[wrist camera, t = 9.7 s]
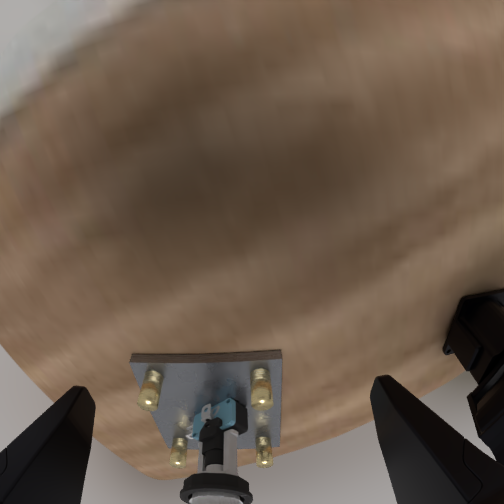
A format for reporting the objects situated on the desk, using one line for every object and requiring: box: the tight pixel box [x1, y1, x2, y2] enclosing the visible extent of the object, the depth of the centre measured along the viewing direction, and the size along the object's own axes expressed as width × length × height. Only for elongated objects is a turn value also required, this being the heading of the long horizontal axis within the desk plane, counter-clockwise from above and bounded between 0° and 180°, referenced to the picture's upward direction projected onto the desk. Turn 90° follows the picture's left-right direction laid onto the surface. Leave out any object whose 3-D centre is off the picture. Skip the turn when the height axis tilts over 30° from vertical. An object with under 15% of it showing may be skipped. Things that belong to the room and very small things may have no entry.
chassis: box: [129, 350, 282, 468], centre depth 26 cm, size 12×14×4 cm
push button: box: [180, 398, 253, 504], centre depth 22 cm, size 7×5×10 cm
